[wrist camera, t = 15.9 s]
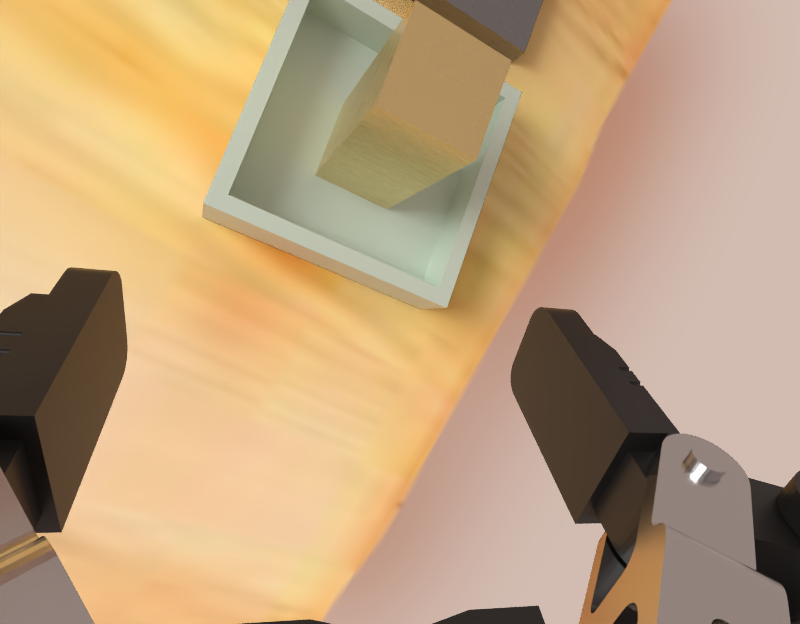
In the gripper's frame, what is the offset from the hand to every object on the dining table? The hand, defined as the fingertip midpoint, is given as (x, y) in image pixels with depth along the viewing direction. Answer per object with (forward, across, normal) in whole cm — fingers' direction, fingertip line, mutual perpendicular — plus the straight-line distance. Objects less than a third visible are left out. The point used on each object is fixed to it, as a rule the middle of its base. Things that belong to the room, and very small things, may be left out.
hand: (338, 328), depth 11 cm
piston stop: (+20, -3, +3) cm, 20 cm away
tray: (+21, -3, +3) cm, 21 cm away
